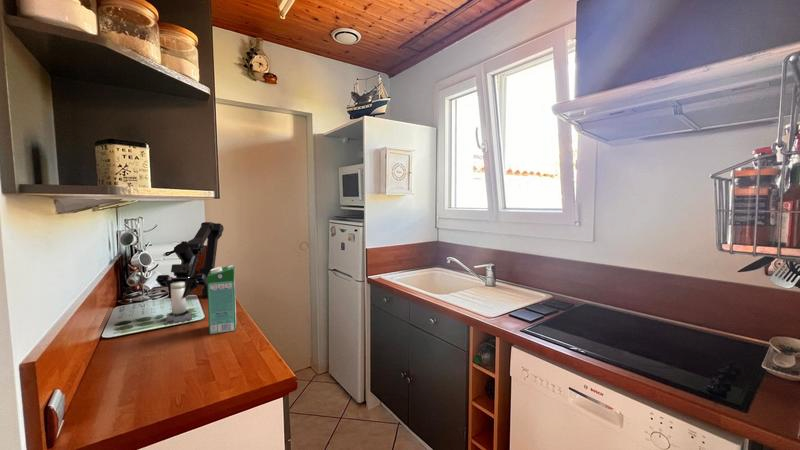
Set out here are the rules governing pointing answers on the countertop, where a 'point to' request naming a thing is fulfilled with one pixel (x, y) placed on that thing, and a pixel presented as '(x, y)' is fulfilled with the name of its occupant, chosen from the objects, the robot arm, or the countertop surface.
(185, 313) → the collar
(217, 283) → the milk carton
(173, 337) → the countertop surface
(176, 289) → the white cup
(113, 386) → the countertop surface
